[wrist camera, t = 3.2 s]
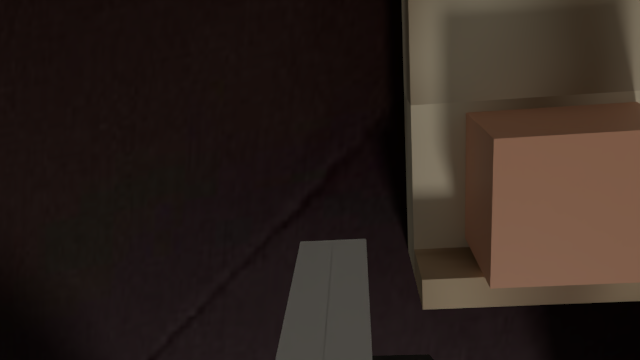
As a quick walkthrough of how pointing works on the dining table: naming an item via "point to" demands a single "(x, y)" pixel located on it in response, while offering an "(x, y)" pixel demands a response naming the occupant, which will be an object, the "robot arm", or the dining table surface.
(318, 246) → the robot arm
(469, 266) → the beige shallow tray
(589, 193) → the block
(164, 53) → the dining table surface
